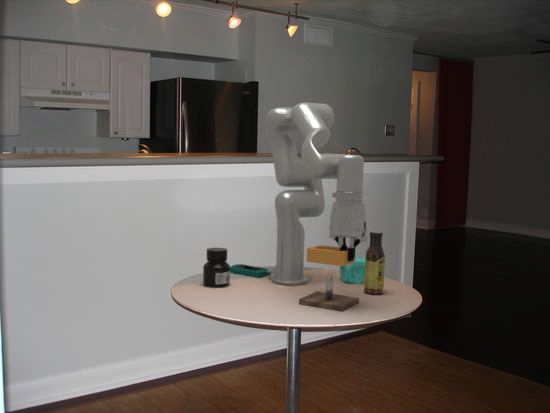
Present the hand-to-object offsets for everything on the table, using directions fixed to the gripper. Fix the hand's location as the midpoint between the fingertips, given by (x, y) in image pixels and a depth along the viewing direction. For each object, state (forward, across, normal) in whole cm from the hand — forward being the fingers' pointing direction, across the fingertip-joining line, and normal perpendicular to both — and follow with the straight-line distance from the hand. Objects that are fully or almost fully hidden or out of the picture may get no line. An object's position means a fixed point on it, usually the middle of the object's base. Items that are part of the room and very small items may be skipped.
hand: (347, 260), depth 175 cm
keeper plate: (+14, -6, 0) cm, 15 cm away
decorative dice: (+14, -12, +33) cm, 38 cm away
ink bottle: (+14, -47, 0) cm, 49 cm away
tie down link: (+1, -5, 0) cm, 5 cm away
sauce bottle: (+14, 0, +21) cm, 25 cm away
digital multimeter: (+14, -47, +22) cm, 54 cm away
